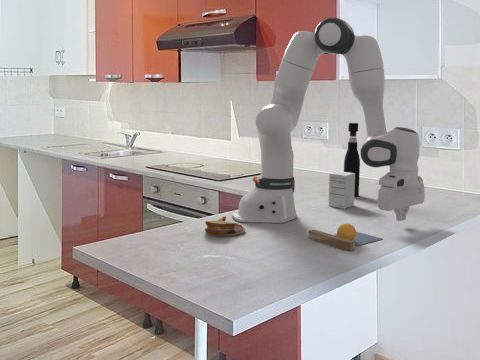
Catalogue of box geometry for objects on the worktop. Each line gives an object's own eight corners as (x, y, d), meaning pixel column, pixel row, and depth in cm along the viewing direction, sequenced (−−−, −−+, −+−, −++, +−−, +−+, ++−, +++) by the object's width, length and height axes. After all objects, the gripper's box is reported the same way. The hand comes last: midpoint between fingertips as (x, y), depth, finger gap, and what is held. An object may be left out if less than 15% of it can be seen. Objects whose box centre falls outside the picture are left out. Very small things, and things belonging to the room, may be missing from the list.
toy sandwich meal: (253, 233, 173) (254, 218, 172) (221, 241, 164) (220, 226, 163) (227, 226, 182) (227, 211, 181) (194, 233, 173) (194, 218, 172)
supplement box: (337, 203, 216) (338, 170, 214) (354, 205, 211) (355, 172, 209) (327, 206, 210) (328, 173, 208) (345, 208, 206) (346, 175, 204)
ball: (343, 220, 160) (355, 220, 163) (330, 228, 163) (342, 227, 167) (350, 238, 158) (362, 237, 161) (337, 245, 162) (349, 244, 165)
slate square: (356, 246, 158) (356, 245, 158) (325, 237, 168) (325, 236, 168) (382, 239, 166) (382, 238, 166) (351, 230, 175) (351, 230, 175)
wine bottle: (356, 194, 233) (359, 122, 228) (360, 197, 227) (363, 123, 222) (341, 194, 233) (343, 122, 228) (344, 197, 227) (347, 123, 222)
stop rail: (349, 251, 154) (350, 242, 153) (308, 238, 166) (308, 230, 166) (354, 249, 155) (354, 241, 154) (313, 237, 167) (313, 229, 167)
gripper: (414, 173, 187) (411, 214, 189) (375, 180, 174) (373, 222, 177) (430, 176, 182) (428, 217, 184) (391, 183, 169) (389, 227, 172)
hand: (401, 220), depth 180 cm, fingers closed
